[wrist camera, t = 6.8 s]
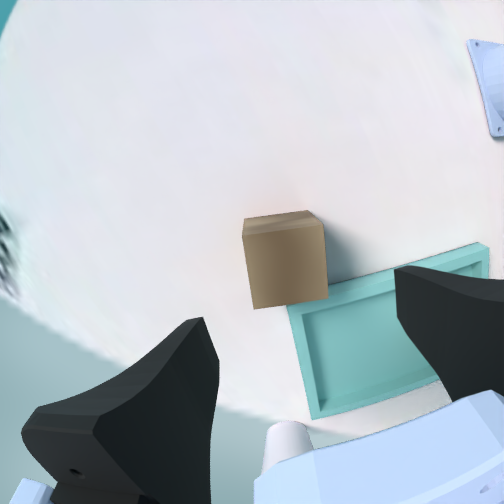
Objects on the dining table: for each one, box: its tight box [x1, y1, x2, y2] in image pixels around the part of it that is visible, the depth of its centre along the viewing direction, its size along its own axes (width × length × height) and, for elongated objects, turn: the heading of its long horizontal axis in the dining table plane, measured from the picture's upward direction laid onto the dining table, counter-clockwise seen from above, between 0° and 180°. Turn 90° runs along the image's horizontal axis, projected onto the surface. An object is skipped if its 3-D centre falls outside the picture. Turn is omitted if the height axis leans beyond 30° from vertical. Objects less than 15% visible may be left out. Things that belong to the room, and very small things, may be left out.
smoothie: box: [261, 421, 314, 475], centre depth 18 cm, size 6×6×14 cm
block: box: [242, 210, 329, 309], centre depth 18 cm, size 4×4×4 cm
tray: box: [286, 242, 489, 420], centre depth 21 cm, size 16×11×2 cm
